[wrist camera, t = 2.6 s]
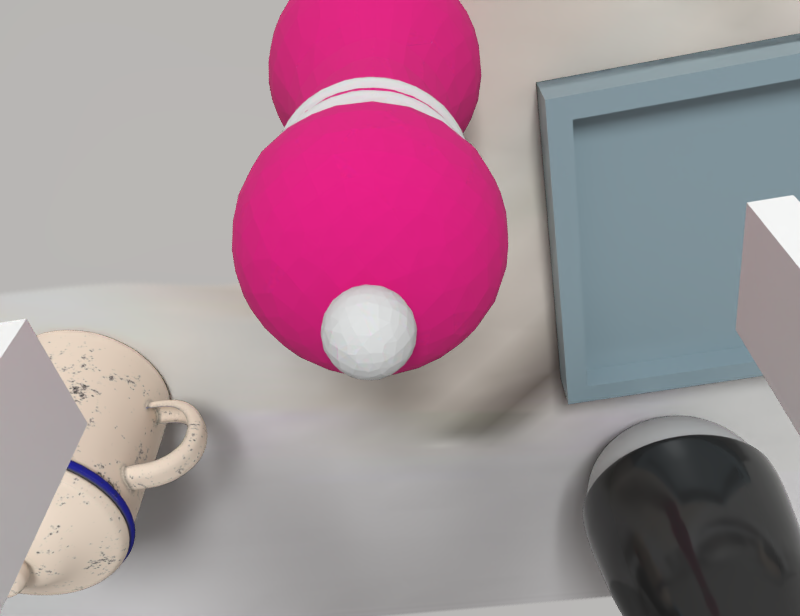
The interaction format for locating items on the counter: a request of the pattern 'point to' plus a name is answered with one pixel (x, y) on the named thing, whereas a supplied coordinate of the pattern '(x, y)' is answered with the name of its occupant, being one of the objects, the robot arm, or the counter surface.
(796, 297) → the robot arm
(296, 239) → the pepper mill
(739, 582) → the black rounded piece
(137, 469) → the teacup with lid
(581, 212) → the tray
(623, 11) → the counter surface
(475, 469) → the counter surface
